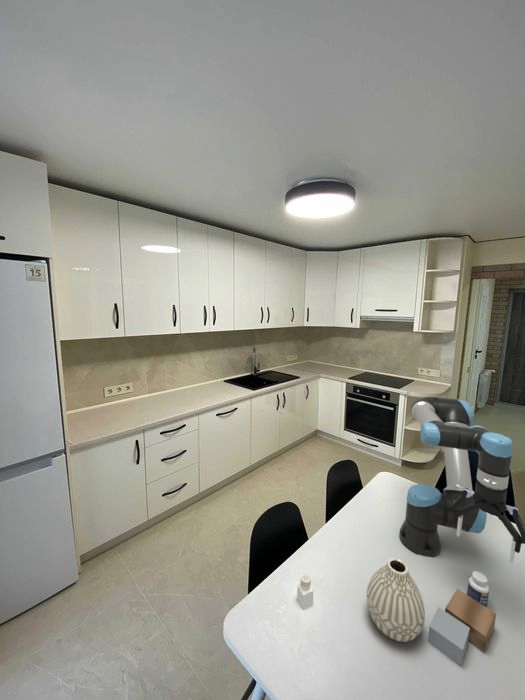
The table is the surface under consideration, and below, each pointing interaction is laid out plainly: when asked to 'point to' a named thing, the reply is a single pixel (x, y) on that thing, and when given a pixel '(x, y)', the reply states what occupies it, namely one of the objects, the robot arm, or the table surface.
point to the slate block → (449, 635)
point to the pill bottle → (478, 588)
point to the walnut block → (473, 618)
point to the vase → (395, 602)
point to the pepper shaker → (305, 592)
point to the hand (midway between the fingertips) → (483, 546)
